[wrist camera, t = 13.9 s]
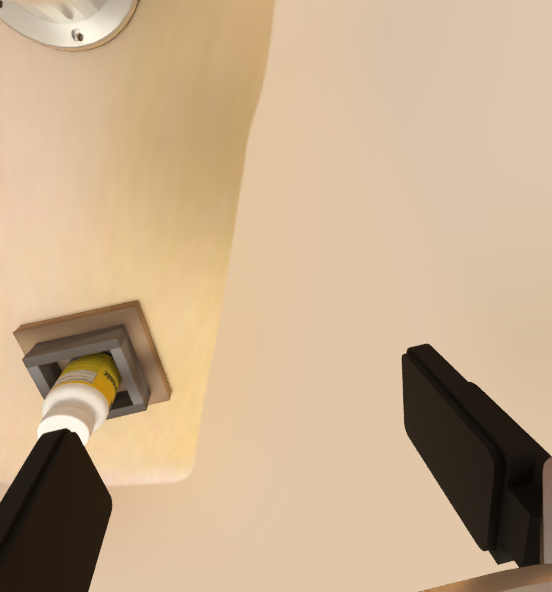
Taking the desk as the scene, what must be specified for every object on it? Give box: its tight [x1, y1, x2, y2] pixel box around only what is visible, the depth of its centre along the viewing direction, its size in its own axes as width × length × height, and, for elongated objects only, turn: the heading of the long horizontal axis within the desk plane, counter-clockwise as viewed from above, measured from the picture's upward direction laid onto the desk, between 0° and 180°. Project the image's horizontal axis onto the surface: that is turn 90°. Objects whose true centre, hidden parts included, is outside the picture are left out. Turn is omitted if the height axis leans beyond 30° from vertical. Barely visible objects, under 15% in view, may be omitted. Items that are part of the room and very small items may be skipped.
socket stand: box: [13, 301, 171, 420], centre depth 38 cm, size 12×12×4 cm
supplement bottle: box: [37, 350, 122, 446], centre depth 34 cm, size 5×5×10 cm
